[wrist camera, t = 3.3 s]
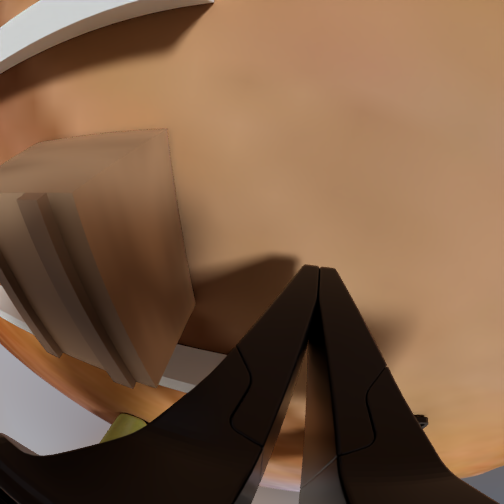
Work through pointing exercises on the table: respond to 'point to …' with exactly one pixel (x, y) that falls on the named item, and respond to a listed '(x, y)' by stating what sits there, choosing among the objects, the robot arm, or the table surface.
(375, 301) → the table surface
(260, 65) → the table surface
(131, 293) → the crate
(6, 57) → the bay
